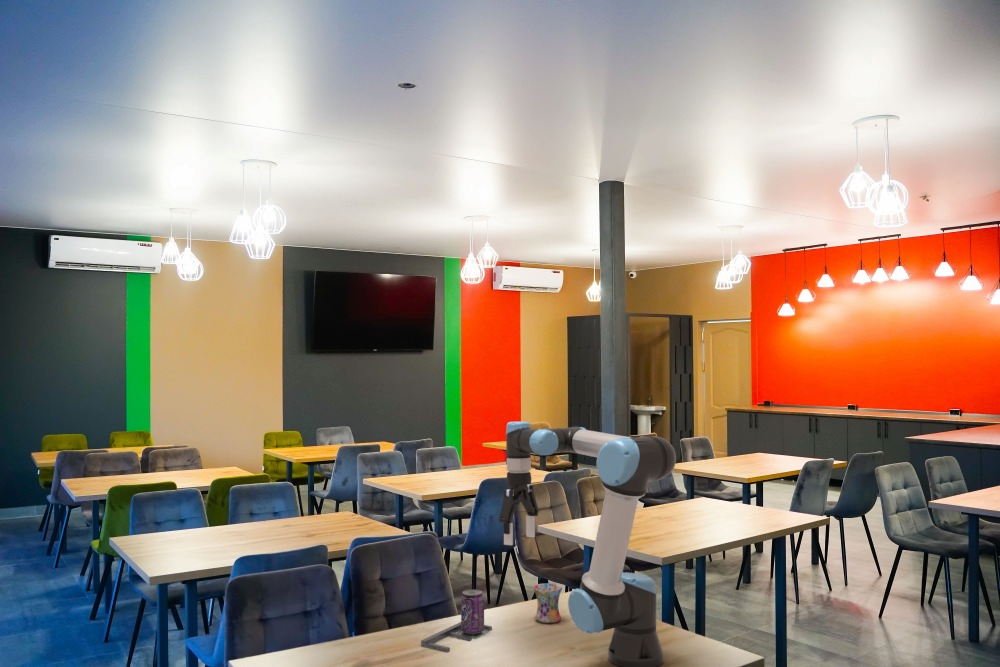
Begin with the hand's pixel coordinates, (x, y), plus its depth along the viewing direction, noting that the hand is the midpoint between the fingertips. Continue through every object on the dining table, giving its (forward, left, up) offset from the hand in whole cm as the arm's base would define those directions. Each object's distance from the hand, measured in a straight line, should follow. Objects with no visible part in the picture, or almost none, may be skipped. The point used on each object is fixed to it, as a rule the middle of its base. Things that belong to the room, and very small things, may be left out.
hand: (519, 540), depth 236 cm
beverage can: (+12, +8, -28) cm, 31 cm away
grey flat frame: (+14, +13, -28) cm, 34 cm away
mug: (0, -17, -28) cm, 33 cm away
